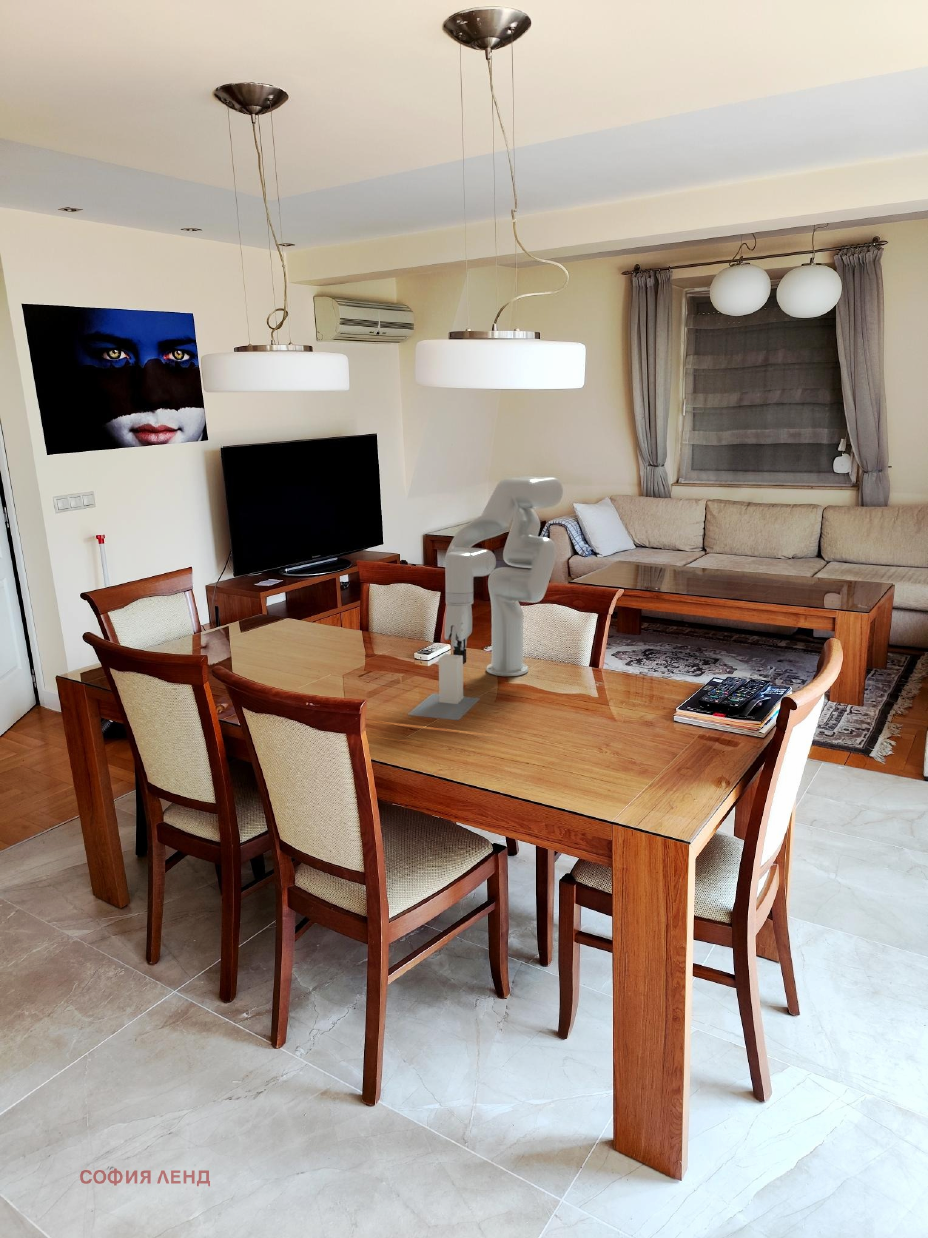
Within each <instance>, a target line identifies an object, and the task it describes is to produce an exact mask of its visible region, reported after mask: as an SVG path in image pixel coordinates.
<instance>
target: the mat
mask: <svg viewBox="0 0 928 1238" xmlns="http://www.w3.org/2000/svg"><path fill="white" fill-rule="evenodd" d="M480 700H481V697H472V696H464V695H463V699H462V700H461V701H460V702H459V703H458V704H452V703H442V702H439V693H435V692H434V693H430V695H429V696H428V697H426V698H425V699H424V700H422V701H421V702H420V703H419V704H418V705H417V706H416V707H414V708H413V709H412V710H410V712H409V713H407V715H408V716H416V717H425V718H435V719H443V720H452V721H460V719H462V718H463V717H464V716H465V714H467V713H468V712H469V711H470V709H472V708H473V707H474V706H475V705H476V704H477V703H478V702H479V701H480Z"/></svg>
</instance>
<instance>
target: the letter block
mask: <svg viewBox="0 0 928 1238" xmlns="http://www.w3.org/2000/svg"><path fill="white" fill-rule="evenodd" d="M438 690H439V691H438V692H439V693H438V694H439V702H442V703H452V704H458V703H459V702H460V701H461V700H462V699H463V696H464V664H463V656H461V655H453V654H449V653H448V654H447V653H445V654H444V655H442V656H441V657H439V658H438Z"/></svg>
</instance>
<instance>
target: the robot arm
mask: <svg viewBox="0 0 928 1238" xmlns="http://www.w3.org/2000/svg"><path fill="white" fill-rule="evenodd" d="M563 491H564V489H563V485H562V483H561V481H560V480H559V479H558V478H556V477H548V476H547V477H546V476H545V477H543V476H541V477H540V476H517V477H513V478H512V477H510V478H504V479H501V480H500V481H498V483H497V484H496V486H495V488H494V490H493V492H492V493H491V495H490V498H489V499H488V502H487V504H486V505H485V507H484V509H483V511H482V513H481V514H480V516H477V517H475V518H474V519H473V520H471V521H470V522H468V523H467V524H466V525H464V526H463V527H462V528H460V529H459V530H458V532H456V534H455V535H454V537H453V538H452V539H451V542H450V544H449V546H448V547H447V549H446V553H445V557H444V564H445V565H444V566H445V567H444V568H445V570H444V571H445V576H444V577H445V604H446V610H445V618H444V619H445V620H444V639H445V641H449V640H450V641H451V642H450V646H451V647H452V651H453V654H452V655H461V656H463V665H465V664H466V663H467V644H468V638H469V636H470V635H471V634H472V632H473V611H472V610H473V609H472V605H473V604H474V578H475V577H486V576H488V578H487V579H488V580H487V586H488V593H489V598H490V599H489V600H490V606H491V607H490V609H491V663H489V664H487V665H486V672H487V673H488V674H491V675H493V676H496V677H497V676H498V677H518V676H522V675H524V674H527V673H528V672H529V666H528V665H527V664H526V663H524V612H523V608H522V606H521V605H520V602H521V603H532V604H533V603H535V604H536V603H539V602H540V601H542V599H544V597H545V595H546V592H547V589H548V587H549V583H550V580H551V576H552V572H553V569H554V567H555V563H556V559H557V547H556V543H554V541H553V540H552V539H551V538H548V537H545V536H539V533H540V528H541V521H540V518H539V516H538V514H537V513H536V511H535V510H538V509H546V508H547V509H549V508H553V507H556V506H557V505H558V504H559V503H560V502H561V500H562V498H563V493H564V492H563ZM510 525H511V527H510ZM509 527H510V530H509V533H508V535H507V539H506V540H505V541H506V542H505V543H504V544H505V545H504V547H503V551H502V552H503V553H502V558H503V561H504V563H506V564H507V565H509V566H511V567H506V566H505V567H504V566H502V567H497V568H496V565H497V559H496V555H495V553H494V552H493V551H491V550H489V549H488V548H487V549H485V548H481V547H480V548H479V547H473V546H474V545H476V544H478V543H480V542H482V541H485V540H488V539H491V538H495V537H497V536H500V535H503V534H504V533H506V532H507V531H508V529H509Z"/></svg>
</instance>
